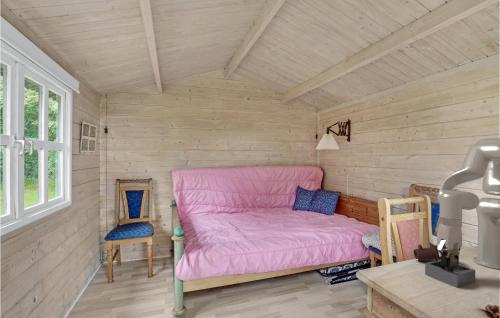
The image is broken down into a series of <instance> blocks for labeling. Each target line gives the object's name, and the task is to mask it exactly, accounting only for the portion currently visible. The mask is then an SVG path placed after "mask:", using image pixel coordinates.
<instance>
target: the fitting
mask: <svg viewBox="0 0 500 318" xmlns="http://www.w3.org/2000/svg"><path fill="white" fill-rule="evenodd" d="M424 275H425V276H427V277H430V278H432V279H434V280H437V281H439V282H442V283H445V284H447V285H449V286H452V287H454V288H456V289H458V288H462V287H464V286H467V285H470V284H473V283H476V269H473V268H471V267H468V266H466V265H462V264H458V265H457V266H456V267H455V268H454V270H453V272H450V271H448V270H445V266H444V265H441V260H433V261H432V260H431V261H428V262H425V263H424Z"/></svg>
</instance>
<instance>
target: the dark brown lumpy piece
mask: <svg viewBox="0 0 500 318" xmlns="http://www.w3.org/2000/svg"><path fill="white" fill-rule="evenodd" d="M428 241H429V247H423V245H422V244H418V245H417V248H415V249H413V255H414V258H415V260H416V259H418V261H417V262H423V261H432V260H433V261H436V260H441V255H440V252H439V251H438V247H437V243H434V242H433V241H431V240H428Z"/></svg>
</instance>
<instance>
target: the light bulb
mask: <svg viewBox="0 0 500 318" xmlns="http://www.w3.org/2000/svg"><path fill="white" fill-rule="evenodd" d="M457 248H458V243H456V244H454V248H453V250H450V254H449V257H450V267H447V266H445V270H448V271H450V272H453V270H454V268H455V267H456V266H457V259H456V258H455V257H454V256H455V255H457V254H458V252H457V251H458V249H457ZM444 249H447V248H446V247H444ZM444 251H445V252H446V253H447V251H446V250H444Z"/></svg>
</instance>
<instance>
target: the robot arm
mask: <svg viewBox="0 0 500 318" xmlns="http://www.w3.org/2000/svg"><path fill="white" fill-rule="evenodd" d="M481 178H482V185H481V186H482V187H481V188H482V191H483V193H485V194H487V195H492V196H498V197H500V137H495V138H492V137H491V138H490V137H489V138H482V139H479V140H477V141H476V142H475V143H473V144H472V145H471V144H470V146H469V148H468V150H467V152H466V155H465V157H464V160H463V162H462V165H461V167H460V168H459V169H458V170H457V171H455V172H454V173H452V174H450V175H449V176H448V177H446V178H445V179H444V180H443V181H442V183H441V185H440V188H439V190H438V192H437V193H438V194H437V202H438V203H439V225H438V229H437V235H436V245H437V247H438V252H439V256H441V265H444V266H447V267H450V257H449V254H450V250H453V248H454V244H456V243H458V248H457V249H458V251H457V252H458V254H457V255H455V256H454V257H455V258H456V259H457V265H458V264H459V263H460V257H459V256H460V253H461V252H460V251H461V248H462V247H463V232H462V231H463V230H462V228H463V210H465V211H466V210H467V211H469V210H470V211H471V210H475V211H476V215H477V256H475V257H473V259H472V260H473V262H475V263H476V264H477V265H480V266H483V267H485V268H490V269H497V270H500V198H496V197H481V198H479V196H478V195H477V194H475V193H473V192H470V191H463V190H462V191H460V190H454V189H455V188H456V187H458V186H460V185H462V184H465V183H469V182H472V181H476V180H479V179H481ZM444 247H446V248H447V249H444ZM444 250H446V251H447V253H446V252H445V251H444ZM459 265H460V264H459Z"/></svg>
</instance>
